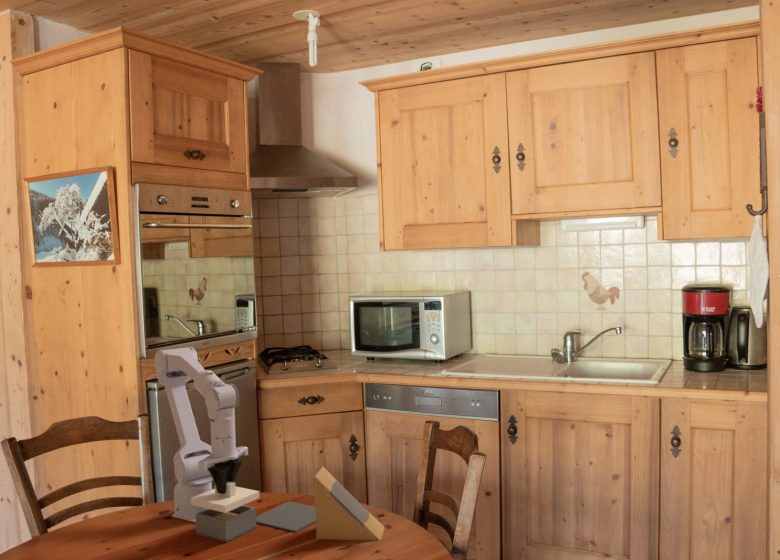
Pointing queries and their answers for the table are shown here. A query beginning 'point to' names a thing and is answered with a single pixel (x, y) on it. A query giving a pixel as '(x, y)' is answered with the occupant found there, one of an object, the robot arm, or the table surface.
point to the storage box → (225, 523)
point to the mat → (289, 516)
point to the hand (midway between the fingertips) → (225, 491)
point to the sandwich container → (341, 512)
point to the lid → (225, 498)
